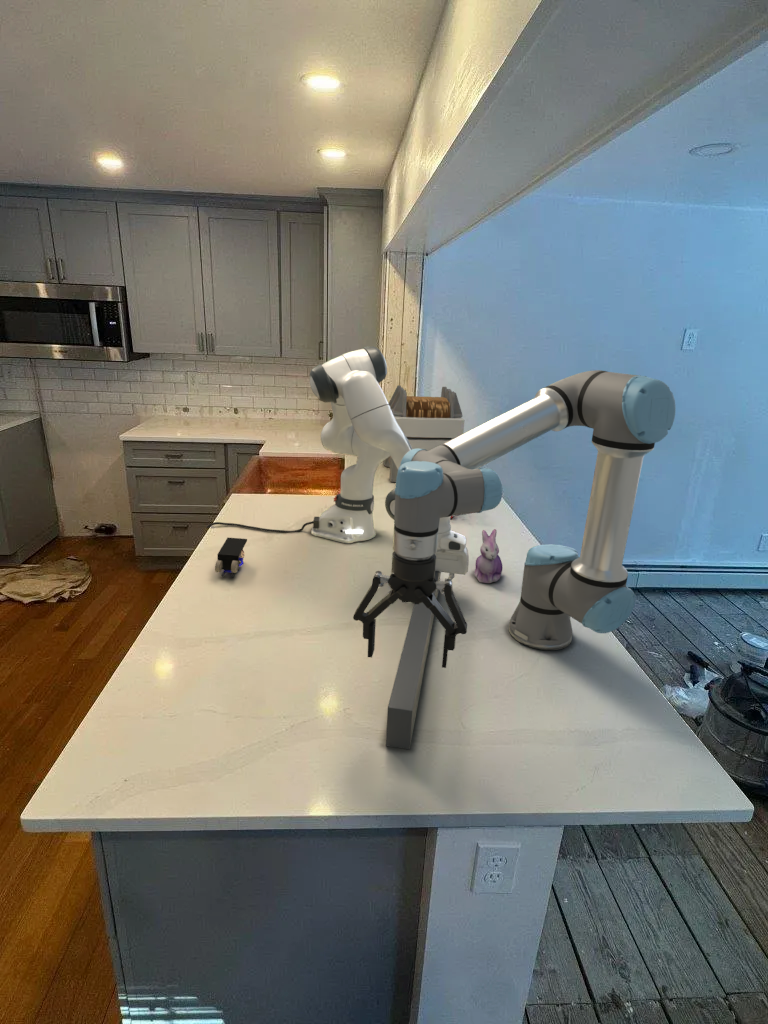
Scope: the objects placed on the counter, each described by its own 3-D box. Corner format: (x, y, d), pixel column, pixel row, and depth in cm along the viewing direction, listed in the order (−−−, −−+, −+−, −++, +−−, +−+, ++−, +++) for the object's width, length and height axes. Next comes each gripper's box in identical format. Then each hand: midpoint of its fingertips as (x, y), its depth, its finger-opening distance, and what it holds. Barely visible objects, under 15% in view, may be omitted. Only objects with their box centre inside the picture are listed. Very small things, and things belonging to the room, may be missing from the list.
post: (424, 583, 165) (426, 556, 162) (439, 585, 164) (442, 558, 161) (385, 745, 103) (387, 707, 100) (409, 749, 102) (412, 711, 99)
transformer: (382, 463, 289) (386, 382, 275) (445, 464, 293) (451, 384, 279) (390, 482, 257) (394, 392, 243) (460, 483, 261) (468, 394, 247)
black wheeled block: (238, 584, 162) (249, 557, 175) (236, 562, 158) (247, 536, 172) (215, 584, 161) (227, 556, 175) (212, 561, 158) (225, 535, 171)
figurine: (485, 587, 164) (491, 539, 159) (465, 572, 172) (469, 526, 167) (511, 581, 168) (517, 534, 163) (490, 567, 176) (495, 522, 171)
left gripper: (393, 537, 151) (390, 584, 155) (470, 546, 148) (465, 593, 152) (397, 529, 157) (394, 574, 161) (471, 537, 154) (466, 583, 158)
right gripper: (337, 553, 95) (336, 660, 102) (488, 569, 91) (475, 680, 99) (348, 536, 102) (345, 638, 109) (488, 551, 98) (476, 656, 106)
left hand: (429, 583), depth 157 cm, fingers open, 8 cm apart
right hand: (407, 658), depth 104 cm, fingers open, 13 cm apart
